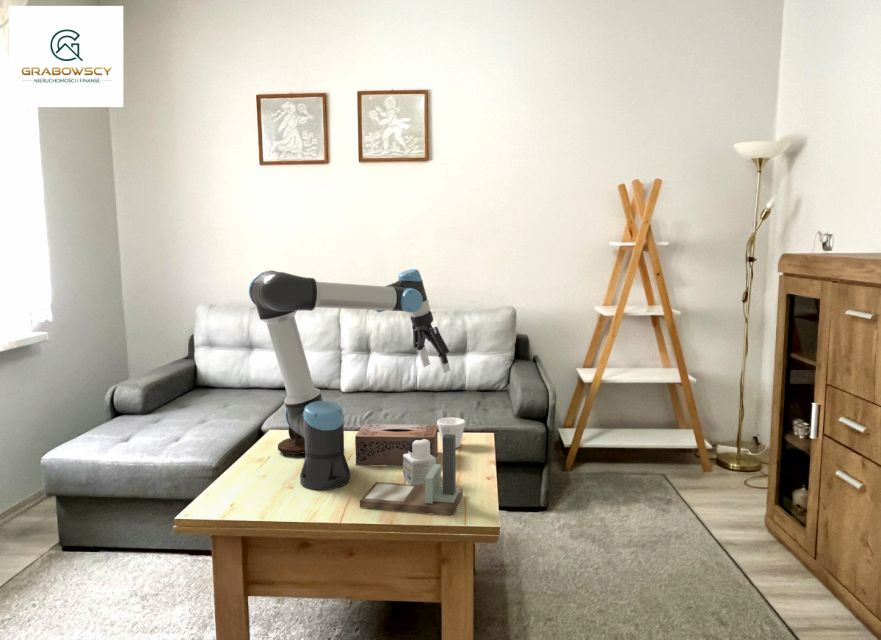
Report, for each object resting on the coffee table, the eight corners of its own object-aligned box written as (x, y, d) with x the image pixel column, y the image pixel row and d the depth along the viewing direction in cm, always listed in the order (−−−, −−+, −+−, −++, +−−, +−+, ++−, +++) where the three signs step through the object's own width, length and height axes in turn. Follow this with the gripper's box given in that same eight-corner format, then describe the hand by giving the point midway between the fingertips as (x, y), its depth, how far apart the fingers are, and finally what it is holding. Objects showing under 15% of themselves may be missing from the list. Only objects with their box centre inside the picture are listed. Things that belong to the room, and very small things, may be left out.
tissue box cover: (437, 452, 219) (437, 424, 218) (434, 467, 205) (434, 437, 204) (363, 451, 221) (363, 423, 220) (355, 466, 207) (355, 436, 205)
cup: (436, 450, 221) (436, 425, 219) (437, 442, 230) (437, 417, 229) (465, 451, 220) (465, 425, 219) (465, 442, 230) (465, 417, 229)
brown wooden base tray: (359, 507, 173) (359, 500, 173) (375, 488, 187) (375, 481, 186) (453, 515, 167) (453, 507, 167) (462, 495, 181) (462, 488, 181)
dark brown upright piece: (282, 444, 228) (280, 390, 226) (323, 443, 229) (322, 389, 227) (274, 458, 214) (271, 400, 211) (318, 457, 215) (316, 399, 212)
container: (403, 478, 195) (402, 437, 193) (426, 474, 198) (425, 433, 197) (412, 486, 188) (412, 444, 186) (436, 482, 191) (436, 440, 190)
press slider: (425, 503, 170) (424, 440, 168) (434, 487, 181) (433, 429, 179) (452, 505, 169) (452, 442, 167) (460, 489, 179) (459, 430, 177)
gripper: (448, 312, 211) (464, 369, 217) (411, 306, 232) (427, 359, 238) (430, 320, 208) (447, 378, 214) (394, 314, 229) (410, 367, 235)
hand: (436, 368), depth 226 cm, fingers open, 13 cm apart
